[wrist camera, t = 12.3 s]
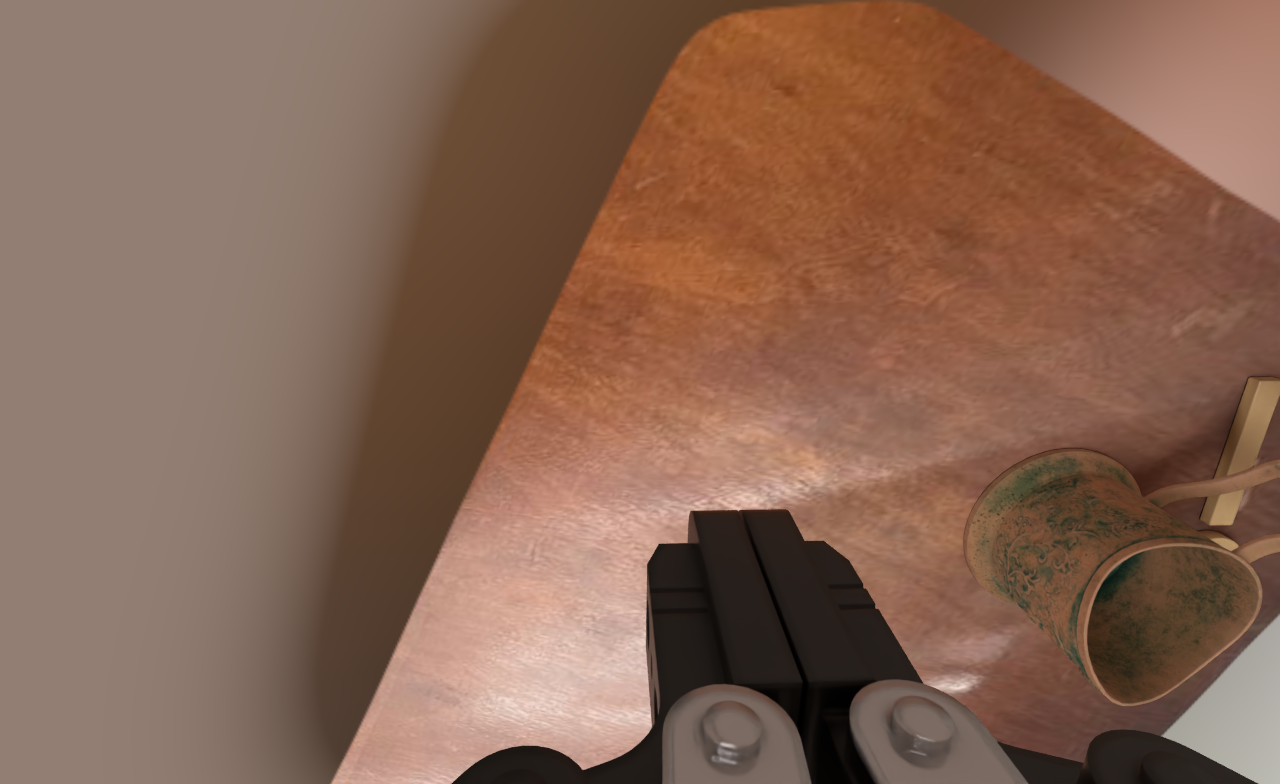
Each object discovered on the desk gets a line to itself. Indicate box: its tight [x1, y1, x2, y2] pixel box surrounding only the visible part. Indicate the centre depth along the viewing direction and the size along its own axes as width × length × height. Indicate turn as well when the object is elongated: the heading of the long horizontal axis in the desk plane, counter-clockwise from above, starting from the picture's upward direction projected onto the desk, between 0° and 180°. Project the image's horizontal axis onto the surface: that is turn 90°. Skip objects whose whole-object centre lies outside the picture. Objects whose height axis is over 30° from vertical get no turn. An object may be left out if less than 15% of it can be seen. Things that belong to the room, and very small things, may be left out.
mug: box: [964, 449, 1280, 706], centre depth 36 cm, size 12×18×12 cm, turn 133°
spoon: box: [1198, 377, 1280, 551], centre depth 41 cm, size 15×4×1 cm, turn 179°
